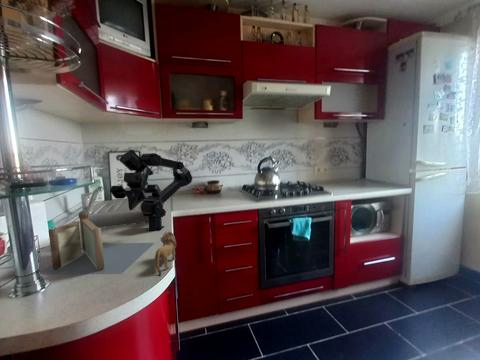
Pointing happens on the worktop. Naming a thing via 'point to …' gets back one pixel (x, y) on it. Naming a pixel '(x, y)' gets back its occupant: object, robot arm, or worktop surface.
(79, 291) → the worktop surface
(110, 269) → the card
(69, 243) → the fixed fence section
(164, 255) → the lion figurine
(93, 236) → the swinging fence panel
